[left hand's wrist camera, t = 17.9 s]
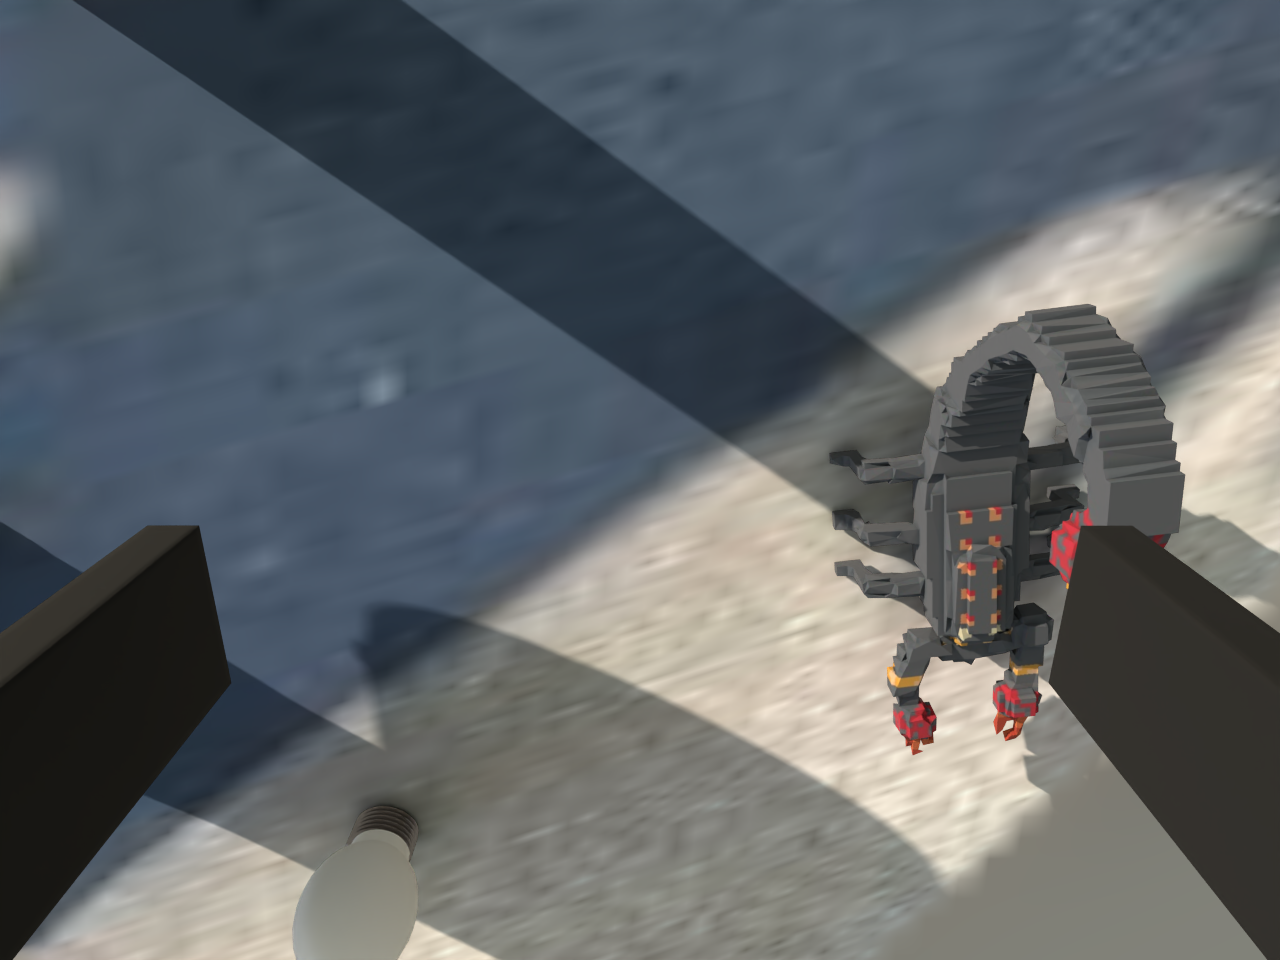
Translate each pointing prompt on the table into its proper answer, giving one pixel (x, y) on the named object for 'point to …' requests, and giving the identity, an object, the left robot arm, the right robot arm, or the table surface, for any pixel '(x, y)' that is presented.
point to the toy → (1014, 498)
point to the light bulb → (362, 893)
